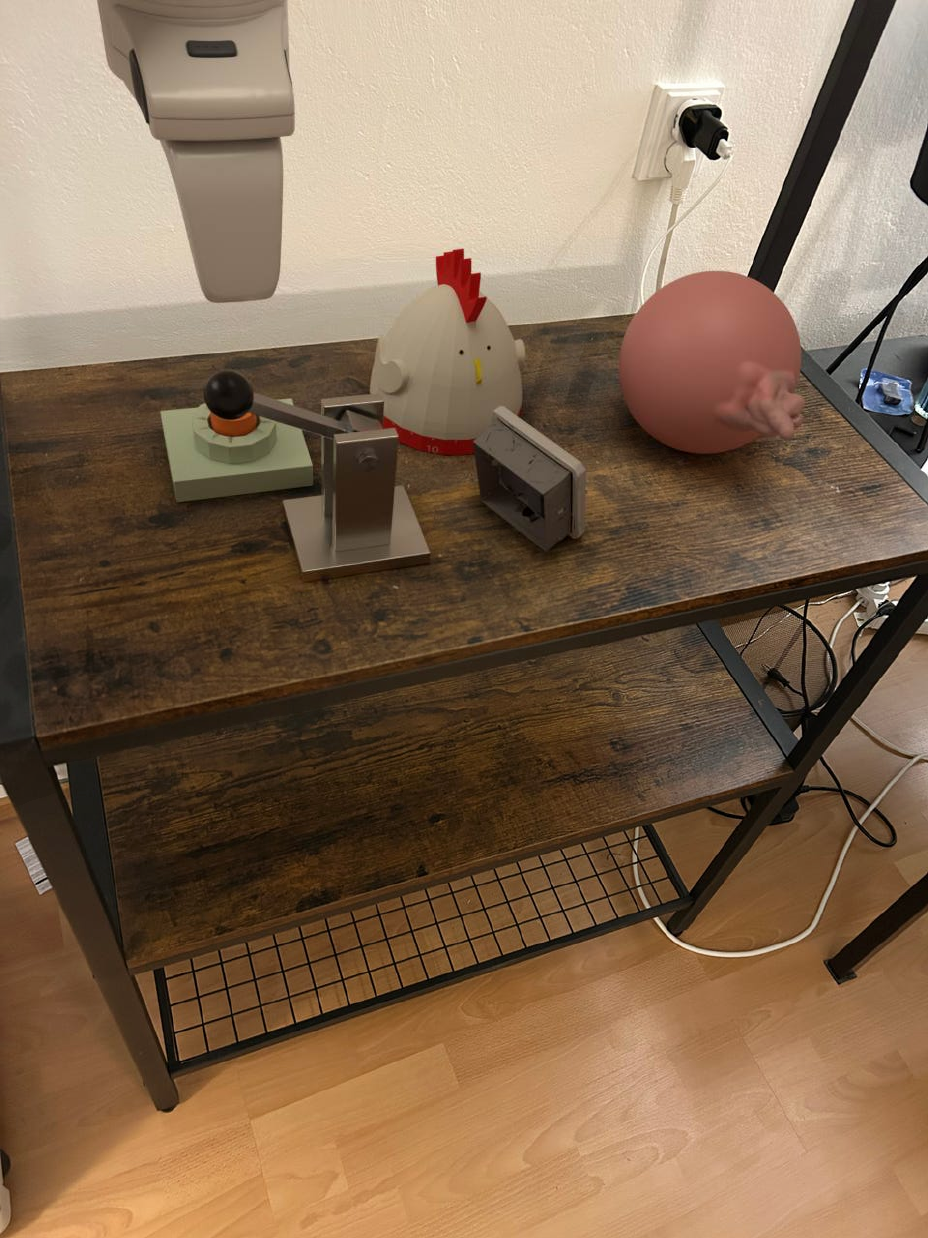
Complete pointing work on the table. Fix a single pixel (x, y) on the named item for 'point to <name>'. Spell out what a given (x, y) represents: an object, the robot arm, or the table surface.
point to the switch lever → (274, 408)
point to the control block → (232, 456)
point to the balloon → (712, 364)
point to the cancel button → (234, 425)
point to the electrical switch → (530, 480)
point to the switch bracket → (356, 503)
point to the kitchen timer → (448, 364)
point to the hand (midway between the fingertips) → (220, 285)
